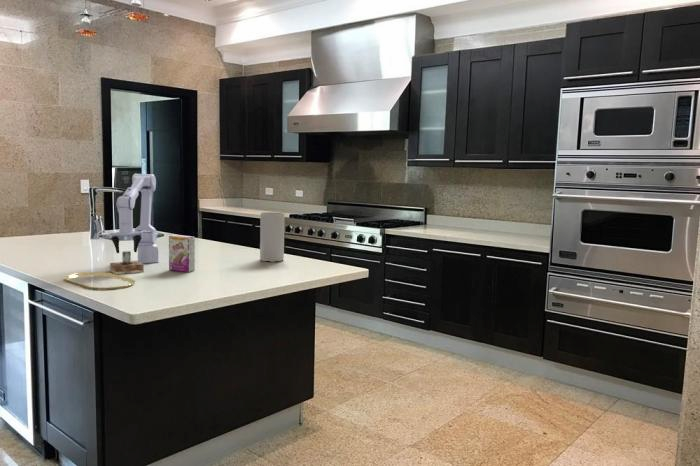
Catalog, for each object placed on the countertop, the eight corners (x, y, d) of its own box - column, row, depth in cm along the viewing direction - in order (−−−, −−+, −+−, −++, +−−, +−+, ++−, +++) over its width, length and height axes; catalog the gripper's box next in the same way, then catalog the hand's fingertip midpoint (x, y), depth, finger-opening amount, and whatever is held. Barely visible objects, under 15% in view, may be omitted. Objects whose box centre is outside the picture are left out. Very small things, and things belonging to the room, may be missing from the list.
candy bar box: (168, 270, 255) (168, 235, 253) (175, 268, 260) (174, 234, 258) (188, 272, 251) (188, 237, 249) (195, 270, 256) (195, 236, 254)
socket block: (137, 268, 258) (137, 260, 257) (143, 271, 250) (143, 264, 249) (110, 270, 251) (110, 263, 250) (115, 274, 243) (115, 266, 242)
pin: (129, 268, 253) (129, 251, 252) (131, 269, 250) (131, 252, 249) (121, 268, 250) (121, 251, 249) (123, 270, 248) (123, 252, 247)
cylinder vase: (268, 263, 282) (268, 214, 279) (255, 259, 291) (256, 212, 288) (288, 260, 290) (289, 214, 287) (275, 257, 300) (275, 212, 297)
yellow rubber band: (100, 273, 245) (100, 270, 245) (144, 286, 224) (144, 282, 224) (57, 279, 230) (56, 276, 230) (99, 293, 209) (99, 289, 209)
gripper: (111, 224, 240) (112, 254, 242) (145, 223, 249) (145, 252, 250) (107, 222, 246) (108, 252, 247) (140, 221, 254) (140, 250, 256)
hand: (126, 252), depth 249 cm, fingers open, 7 cm apart
